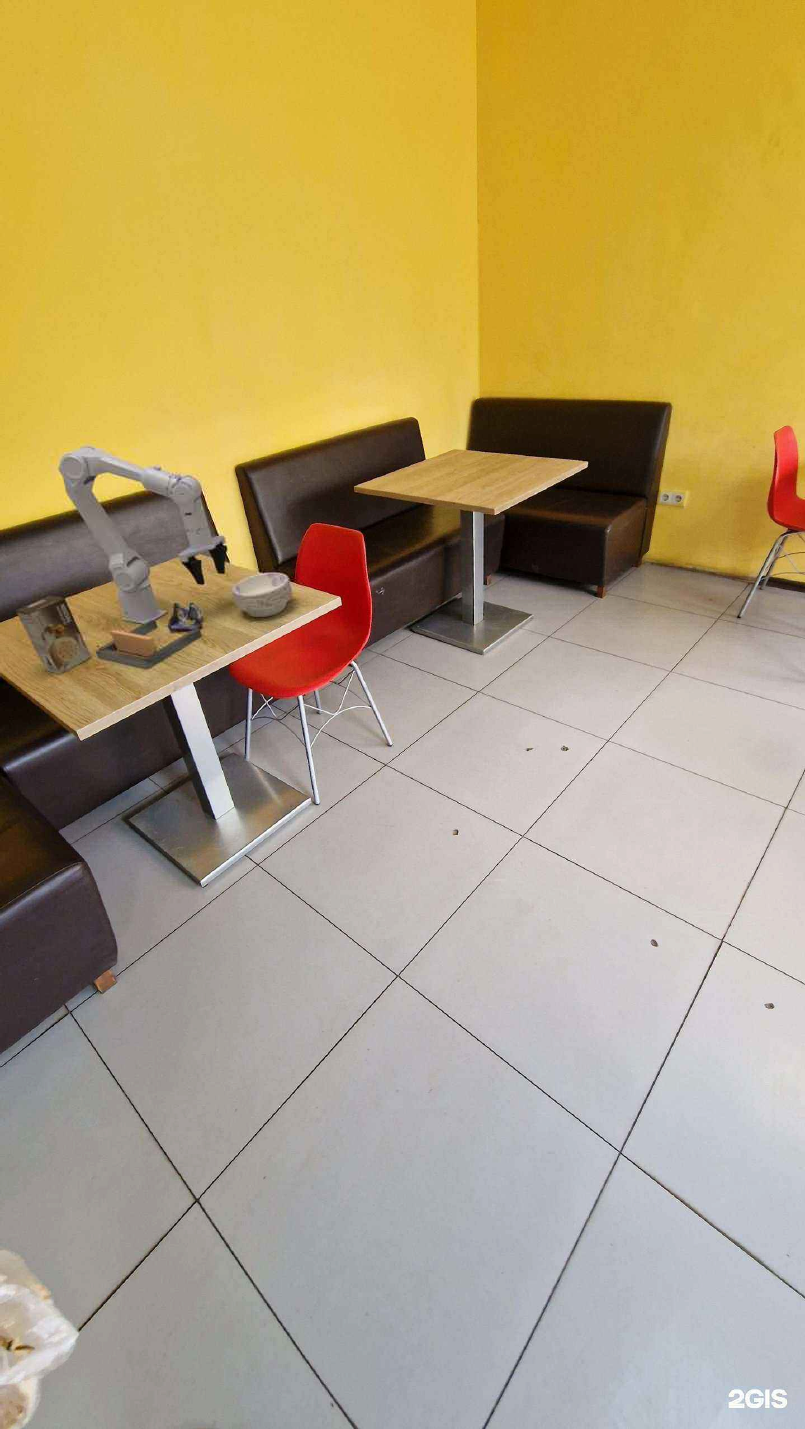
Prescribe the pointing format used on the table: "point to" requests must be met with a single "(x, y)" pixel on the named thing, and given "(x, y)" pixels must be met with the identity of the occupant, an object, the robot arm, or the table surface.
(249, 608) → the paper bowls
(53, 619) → the coffee box
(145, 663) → the rail track
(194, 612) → the snack package
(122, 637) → the plate
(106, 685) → the table surface
